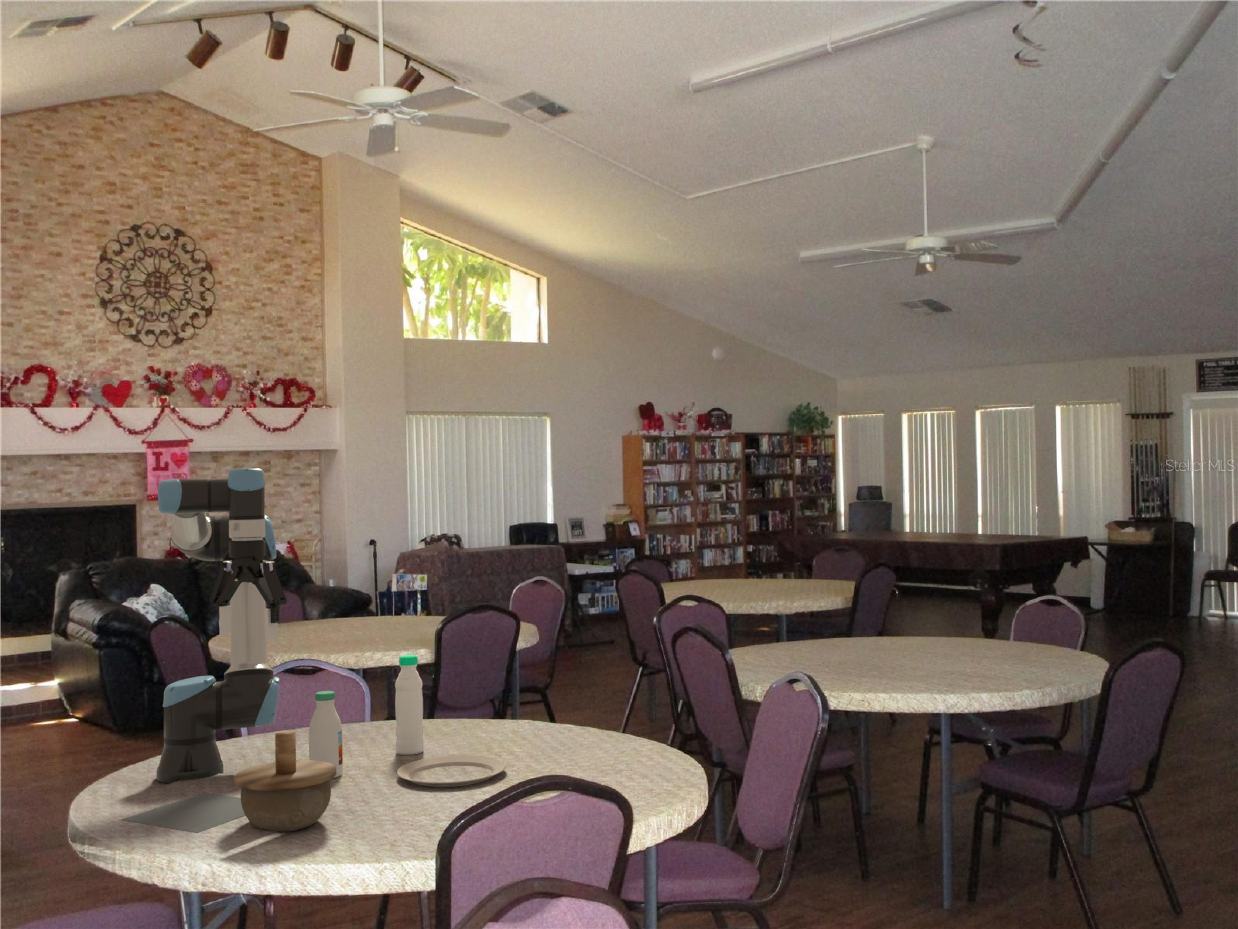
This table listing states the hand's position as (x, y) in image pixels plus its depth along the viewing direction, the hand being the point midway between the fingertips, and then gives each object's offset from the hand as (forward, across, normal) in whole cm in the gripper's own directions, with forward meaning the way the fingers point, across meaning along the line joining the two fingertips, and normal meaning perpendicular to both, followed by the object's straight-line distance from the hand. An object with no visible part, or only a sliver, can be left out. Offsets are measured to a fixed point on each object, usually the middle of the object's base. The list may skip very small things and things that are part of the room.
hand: (248, 637), depth 240 cm
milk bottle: (+37, -3, +27) cm, 46 cm away
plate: (+37, +25, +39) cm, 59 cm away
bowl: (+37, +17, -7) cm, 41 cm away
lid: (+27, +17, -7) cm, 32 cm away
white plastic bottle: (+37, +1, +54) cm, 65 cm away
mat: (+37, -5, -9) cm, 38 cm away
